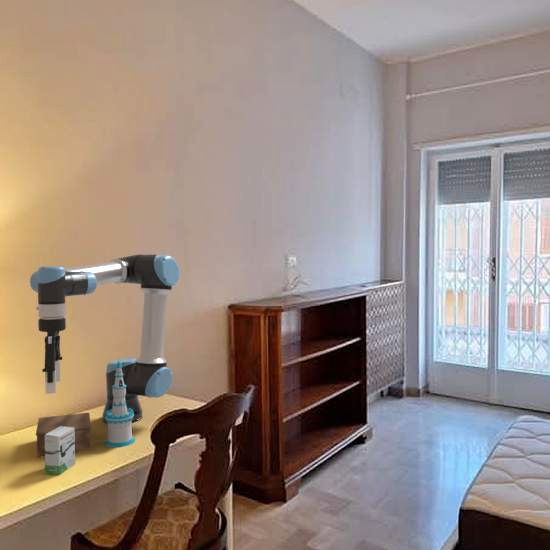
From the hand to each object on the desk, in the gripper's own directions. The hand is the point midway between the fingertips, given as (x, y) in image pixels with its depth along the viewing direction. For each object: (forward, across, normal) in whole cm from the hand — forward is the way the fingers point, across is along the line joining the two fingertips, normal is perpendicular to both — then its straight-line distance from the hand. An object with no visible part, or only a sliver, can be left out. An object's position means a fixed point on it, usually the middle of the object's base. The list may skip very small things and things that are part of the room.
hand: (53, 387), depth 156 cm
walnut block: (+25, -19, +1) cm, 31 cm away
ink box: (+25, +1, +2) cm, 25 cm away
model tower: (+25, -16, +19) cm, 36 cm away
